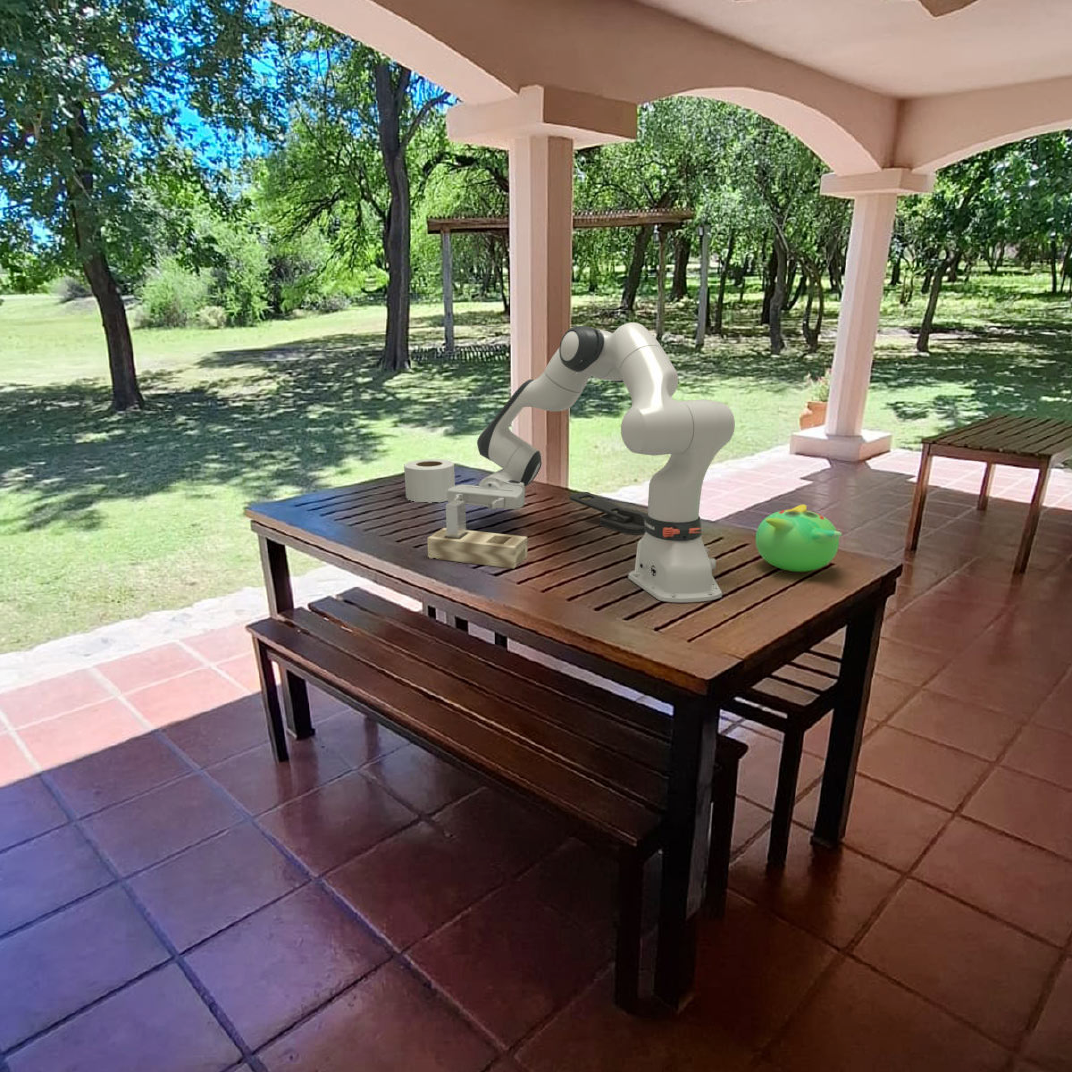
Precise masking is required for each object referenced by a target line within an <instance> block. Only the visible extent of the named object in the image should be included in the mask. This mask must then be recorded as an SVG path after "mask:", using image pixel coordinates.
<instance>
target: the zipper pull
mask: <svg viewBox="0 0 1072 1072" xmlns="http://www.w3.org/2000/svg"><path fill="white" fill-rule="evenodd" d="M587 498H589V499H587ZM569 500H570V501H573V502H575V503H579V504H580V505H583V506H586V507H589V508H591V509H594V510H597V511H599V512H602V513H603V515H601V516H600V518H599V526H600V527H602V528H606V529H609V530H612V531H616V532H618V533H622V534H624V535H628V536H629V535H630V536H641V535H644V534H645V532H646V531H645V517H646V514H647V513H646V512H643V511H639V510H635V509H632V508H626V507H621V506H619V505H617V504H615V503H612V502H611V501H608V500H607V499H604V498H601V497H600V496H597V495H595V494H593V493H591V492H588V491H583V492H578V493H574V494H571V495H570V496H569Z"/></svg>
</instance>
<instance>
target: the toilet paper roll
mask: <svg viewBox="0 0 1072 1072" xmlns="http://www.w3.org/2000/svg"><path fill="white" fill-rule="evenodd" d="M403 468H404V469H403V470H404V486H405V487H404V488H405V499H406V498H407V499H408V500H407V499H406V500H407V501H409V500H411V501H410V502H412V501H414V502H413V503H416V502H428V503H427V504H433V503H432V502H438V503H442V502H443V503H444V502H448V500H447V490H448V489H449V488H452V487H454V486H456V476H455V474H456V473H455V463H454V461H451V460H447V459H439V458H438V459H435V458H433V459H419V460H413V461H408V462H407V463H404V464H403Z"/></svg>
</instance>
